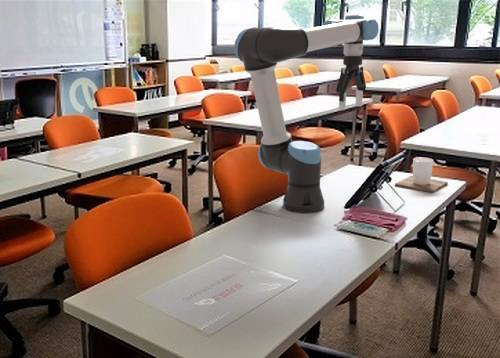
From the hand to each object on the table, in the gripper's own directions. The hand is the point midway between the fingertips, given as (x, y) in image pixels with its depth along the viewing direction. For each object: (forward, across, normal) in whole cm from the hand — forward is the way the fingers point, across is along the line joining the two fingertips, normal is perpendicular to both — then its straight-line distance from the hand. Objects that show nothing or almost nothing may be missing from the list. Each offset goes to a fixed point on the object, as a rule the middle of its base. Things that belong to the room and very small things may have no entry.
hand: (350, 107), depth 212 cm
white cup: (+31, +14, -27) cm, 43 cm away
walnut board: (+32, +14, -27) cm, 44 cm away
